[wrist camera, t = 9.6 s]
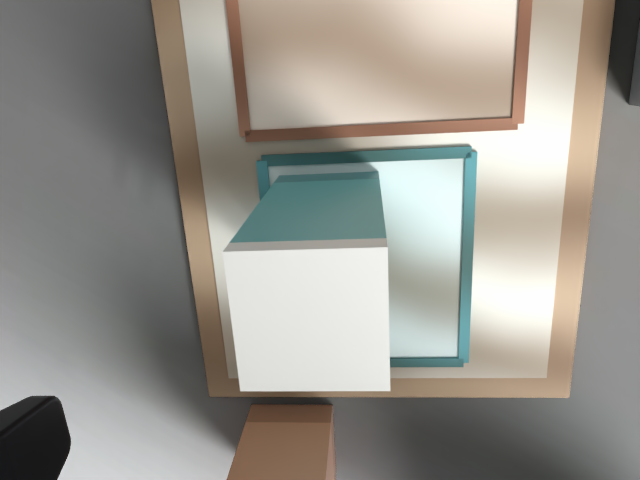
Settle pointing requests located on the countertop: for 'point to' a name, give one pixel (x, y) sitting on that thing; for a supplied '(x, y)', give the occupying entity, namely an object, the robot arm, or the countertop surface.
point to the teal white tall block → (312, 286)
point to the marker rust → (286, 444)
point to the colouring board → (404, 166)
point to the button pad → (636, 76)
